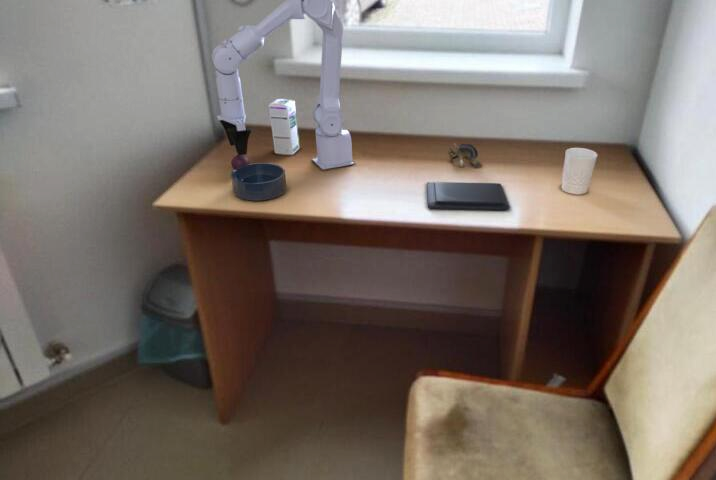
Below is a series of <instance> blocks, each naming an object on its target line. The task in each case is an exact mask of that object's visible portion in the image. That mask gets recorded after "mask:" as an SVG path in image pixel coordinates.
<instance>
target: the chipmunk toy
mask: <svg viewBox="0 0 716 480" xmlns="http://www.w3.org/2000/svg"><path fill="white" fill-rule="evenodd" d="M453 145H454V146H455V149H456V151H454V149H453V148H452V147H449V149H447V150H446V154H448V155H449V158H450V163H452V162H453V161H454V160H457V159H458V161H459V164H460V168H462V167H463V165H464V160H467V161H468V162H470V163H471V164H472V165H473V166H474V167H475V168H481V167H482V165H481V163H480V162H479V161H478V159H477V158H478V157H479V152H478V150H477V148H476V147H475V146H474V145H472V144H471V143H462V144H460V145H459V146H457V144H456V143H453Z"/></svg>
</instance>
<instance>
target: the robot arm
mask: <svg viewBox="0 0 716 480" xmlns="http://www.w3.org/2000/svg"><path fill="white" fill-rule="evenodd" d="M305 15H306V16H307V17H308V18H309V19H310V20H312V21H313V22H315V24H316V25H317V26H318V27H319V29H321V31H322V41H321V61H320V63H321V65H320V81H319V82H320V83H319V95H318V97H317V100H316V101H317V103H316V107H315V108H314V110H313V115H312V116H313V120H314V121H315V124H317V126H316V129H315V131H314V133H315V144H316V157H314V158H312V162H314V163H315V164H316V165H317V166H318V167H319V168H320V170H329V169H334V168H340V167H345V166H346V167H347V166H351V165H354V161H353V142H352V136H351V133H350V131H349V130H347V129H343V127H344V120H343V118H342V115H341V114H342V113H341V111H342V109H341V103H340V99H339V98H340V85H341V84H340V83H341V71H342V70H341V69H342V68H341V67H342V57H343V55H342V54H343V43H344V41H343V40H344V24H343V22H342V20H341V18H340V16H339V14H338V12H337V9H336V8H335V5H334V2H333V1H332V0H284V1H282V3H280V5H278V6H277V7H275V9H273V10H272V11H271V12H270V13H269V14H268V15H266V17H264V18H263V19H262V20H260V21H259V22H258V23H257V24H256V25H251V24H246V25H245V26H243V25H240V26H238V28H237V30H238V32H236V33H235V34H234V35H232V36H231V37H230V38H229V39H226V38H225V39H223V40H222V43H223V44H219V45H217V46H215V47H214V49H213V50H212V54H211V60H212V62H213V65H214V67H215V70H214V73H215V83H216V88H217V89H216V90H217V95H218V101H219V108H220V113H221V114H218V115H217V116H216V119H217V120H218V121H219V123H220V124H221V126H222V127H223V129H224V132H225V135H226V138H227V140H228V143H229V145H230V146H231V147H233V146H234V147H235V151H236V153H237V155H244V156H246V155H247V153H248V142H249V138H250V135H251V133H252V128H251V127H250V126H247V127H246V119H247V113H246V112H245V105H244V97H243V89H242V83H241V77H240V75H239V68H240V63H243V62H245V61H246V60H247V59H249V58H250V57H251V56H253V55H254V54H255V53H256V52H258V51H260V49H261V48H263V47H264V45H265V44H264V43H265V38H267V37H268V36H270V35H271V34H273V33H274V32H275V31H276V30H278V29H279V28H281V27H282V26H284V25H285V24H286V23H288V22H289V21H292V20H306V18H305Z"/></svg>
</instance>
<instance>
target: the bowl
mask: <svg viewBox="0 0 716 480" xmlns="http://www.w3.org/2000/svg"><path fill="white" fill-rule="evenodd" d="M286 177H287V176H286V170H285V169H284V167H283V166H280V165H278V164H275V163H269V162H254V163H250V164H248V165H244V166H241V167H238V168H237V169H235V170H234V169H233V170H232V171H231V172H230V180H231V186H232V191H233V194H234V195H235V197H238V198H240V199H242V200H245V201H266V200H271V199H275V198H277V197H280V196H281V195H283V194H285V192H286V191H287V189H288V188H287V187H288V185H287V178H286Z"/></svg>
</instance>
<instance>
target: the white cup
mask: <svg viewBox="0 0 716 480" xmlns="http://www.w3.org/2000/svg"><path fill="white" fill-rule="evenodd" d="M598 156H599V155H598V153H597V152H596V151H594V150H592V149H590V148H585V147H570V148H567V149H566V150H565V154H564V162H563V167H562V176H561V190H562V191H563V192H565V193H568V194H572V195H584V194H586V193H587V192H588V191H589V187H590V182H591V180H592V177H593V174H594V171H595V167H596V163H597V160H598Z"/></svg>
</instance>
